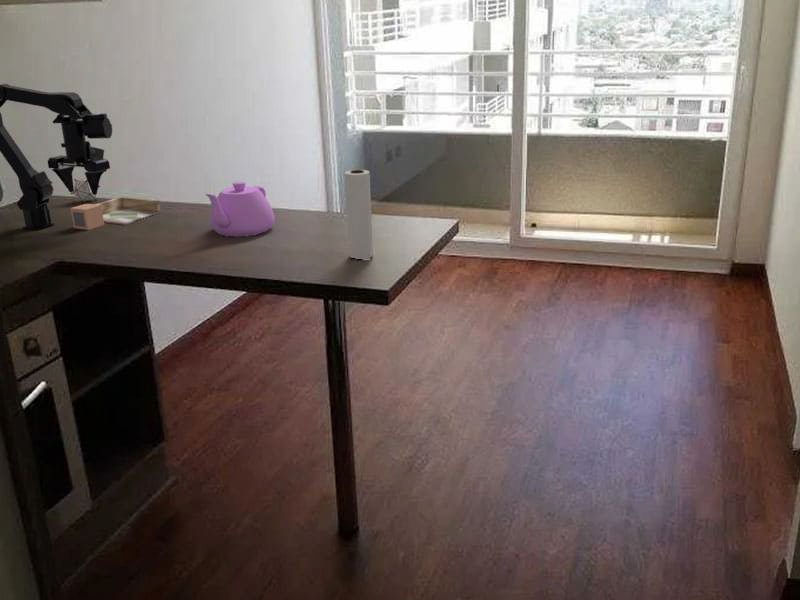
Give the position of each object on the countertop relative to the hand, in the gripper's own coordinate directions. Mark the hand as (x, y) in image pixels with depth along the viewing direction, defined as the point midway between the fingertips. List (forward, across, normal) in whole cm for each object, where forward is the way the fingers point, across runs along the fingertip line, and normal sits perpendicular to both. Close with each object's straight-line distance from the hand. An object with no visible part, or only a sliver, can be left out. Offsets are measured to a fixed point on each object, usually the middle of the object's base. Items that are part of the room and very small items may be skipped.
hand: (83, 193), depth 230 cm
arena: (+10, -2, -12) cm, 16 cm away
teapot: (+10, -46, -12) cm, 49 cm away
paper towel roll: (+10, -90, -2) cm, 91 cm away
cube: (+10, 0, 0) cm, 10 cm away
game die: (+10, +26, -24) cm, 37 cm away
